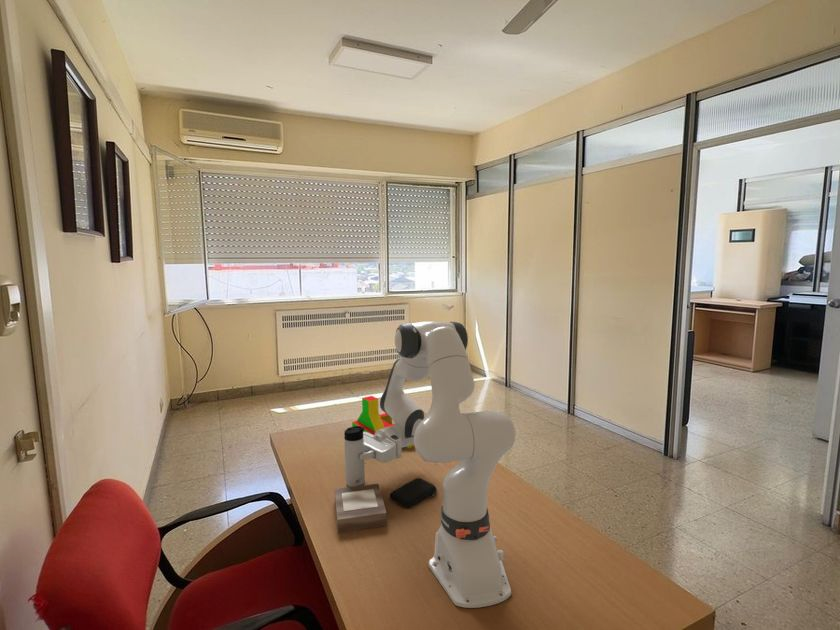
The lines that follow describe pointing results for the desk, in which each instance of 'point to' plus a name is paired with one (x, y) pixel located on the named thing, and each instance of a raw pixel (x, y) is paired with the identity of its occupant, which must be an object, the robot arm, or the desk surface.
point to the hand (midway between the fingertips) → (352, 453)
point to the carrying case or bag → (413, 493)
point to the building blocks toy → (373, 417)
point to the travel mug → (354, 456)
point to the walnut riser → (359, 508)
